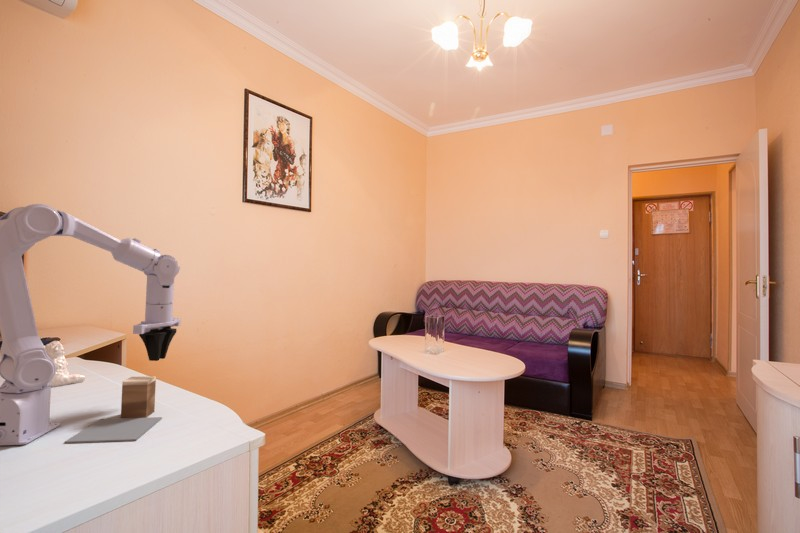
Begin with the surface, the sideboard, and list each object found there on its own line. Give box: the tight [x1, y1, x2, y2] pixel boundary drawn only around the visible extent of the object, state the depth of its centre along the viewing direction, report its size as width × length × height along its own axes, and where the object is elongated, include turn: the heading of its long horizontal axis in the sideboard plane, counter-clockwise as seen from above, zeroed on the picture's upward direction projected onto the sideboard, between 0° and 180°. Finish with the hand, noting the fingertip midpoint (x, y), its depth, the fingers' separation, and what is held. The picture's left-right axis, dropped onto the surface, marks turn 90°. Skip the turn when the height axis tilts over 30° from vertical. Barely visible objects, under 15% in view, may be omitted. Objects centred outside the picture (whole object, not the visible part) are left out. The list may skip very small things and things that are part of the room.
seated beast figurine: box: [44, 340, 86, 388], centre depth 107 cm, size 10×9×12 cm
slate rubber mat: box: [64, 416, 163, 444], centre depth 79 cm, size 11×12×1 cm
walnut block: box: [120, 375, 157, 418], centre depth 87 cm, size 4×5×8 cm
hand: (157, 359), depth 95 cm, fingers closed
